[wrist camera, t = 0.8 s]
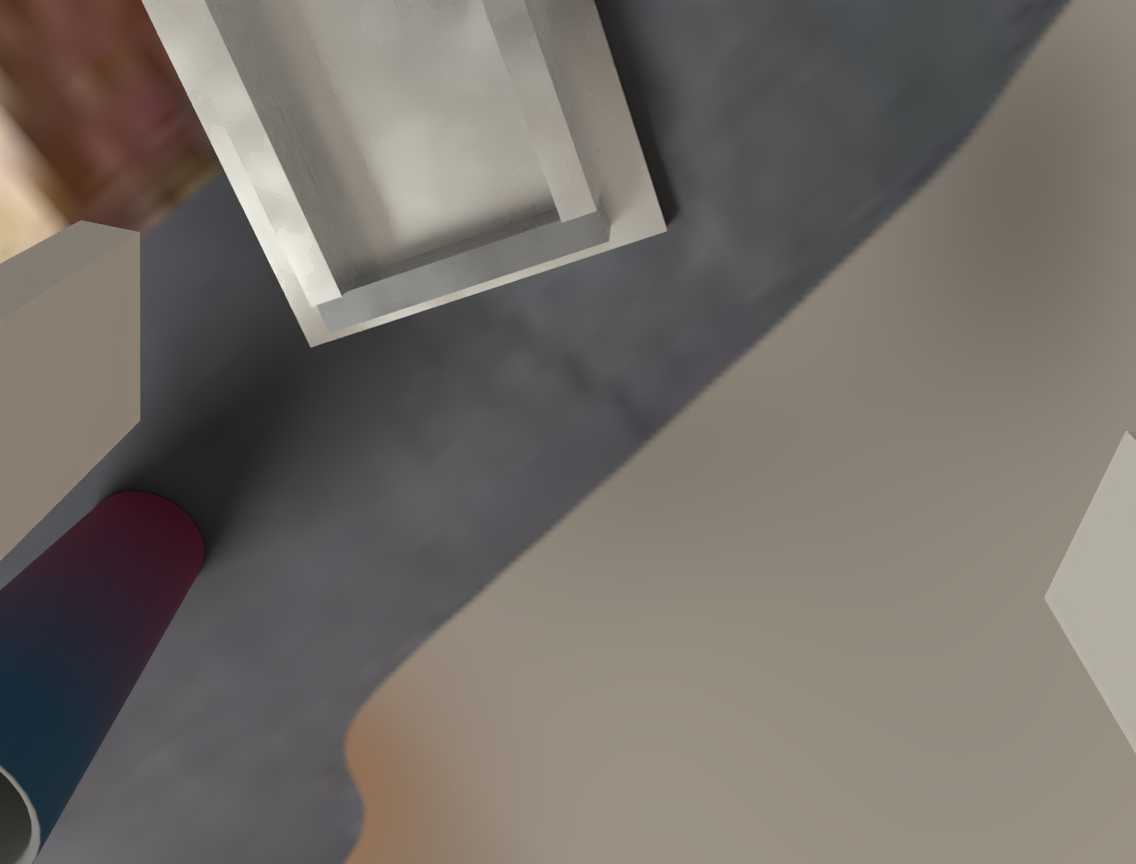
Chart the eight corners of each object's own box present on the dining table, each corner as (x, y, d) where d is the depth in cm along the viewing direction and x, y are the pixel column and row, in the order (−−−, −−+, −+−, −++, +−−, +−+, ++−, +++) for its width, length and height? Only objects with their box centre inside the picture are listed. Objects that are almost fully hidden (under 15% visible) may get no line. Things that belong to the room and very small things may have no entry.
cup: (250, 591, 45) (80, 875, 31) (112, 620, 46) (-109, 905, 33) (184, 456, 42) (-34, 704, 29) (39, 490, 43) (-235, 744, 30)
